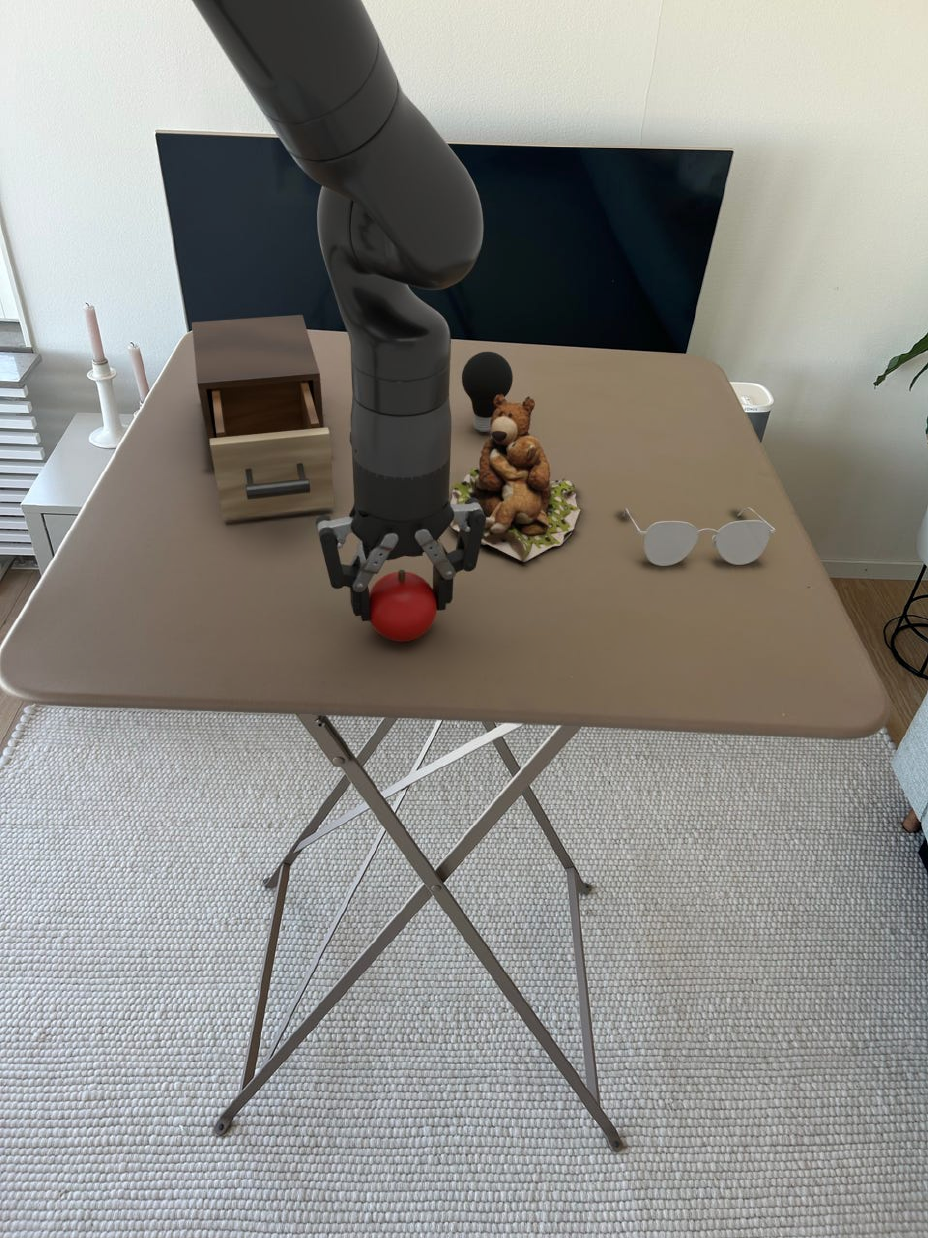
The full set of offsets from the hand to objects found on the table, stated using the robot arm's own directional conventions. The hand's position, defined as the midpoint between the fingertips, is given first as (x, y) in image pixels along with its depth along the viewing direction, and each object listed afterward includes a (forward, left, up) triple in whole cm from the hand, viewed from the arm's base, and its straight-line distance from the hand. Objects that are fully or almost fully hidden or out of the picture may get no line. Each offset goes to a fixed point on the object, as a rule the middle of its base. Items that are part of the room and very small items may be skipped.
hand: (402, 609), depth 78 cm
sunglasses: (+33, -1, -3) cm, 33 cm away
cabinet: (+1, +38, -3) cm, 38 cm away
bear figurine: (+18, +11, -3) cm, 21 cm away
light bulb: (+24, +27, -3) cm, 36 cm away
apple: (0, 0, -3) cm, 3 cm away
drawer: (-2, +25, -2) cm, 25 cm away
